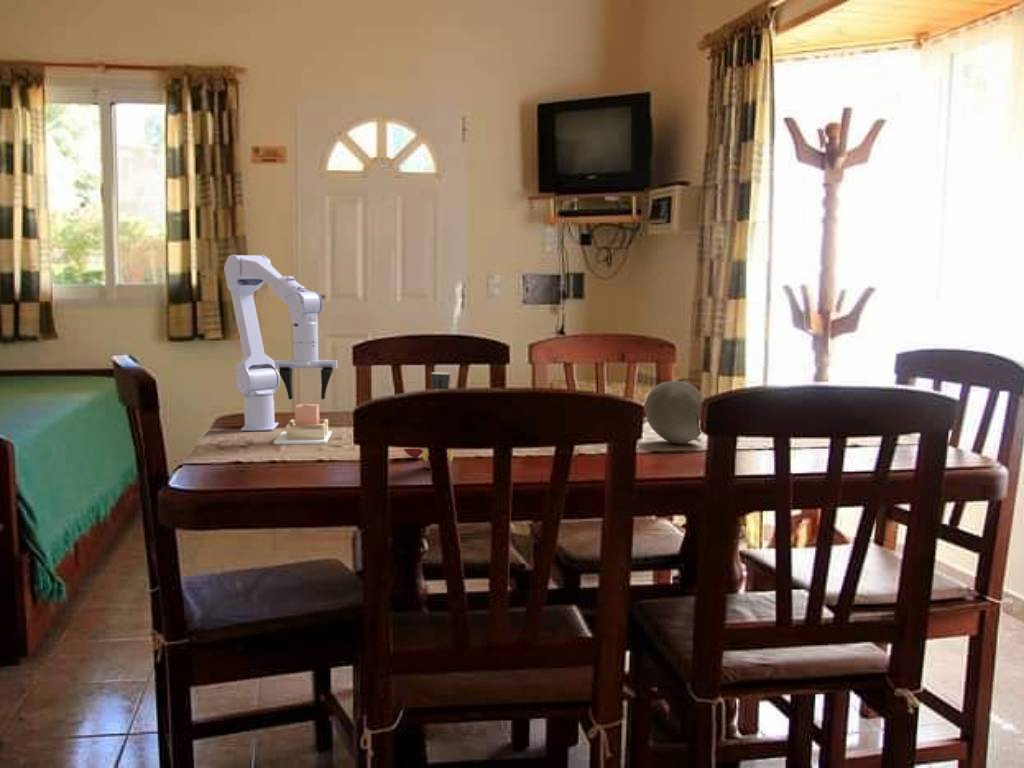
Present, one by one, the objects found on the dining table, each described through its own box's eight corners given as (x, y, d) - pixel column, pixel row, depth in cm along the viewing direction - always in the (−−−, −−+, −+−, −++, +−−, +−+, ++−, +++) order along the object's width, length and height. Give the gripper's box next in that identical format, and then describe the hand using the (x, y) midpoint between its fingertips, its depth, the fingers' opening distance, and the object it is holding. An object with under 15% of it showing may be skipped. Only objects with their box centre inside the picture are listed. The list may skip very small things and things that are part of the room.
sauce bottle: (423, 471, 196) (423, 374, 193) (421, 465, 202) (421, 371, 199) (455, 470, 197) (455, 374, 194) (452, 464, 203) (452, 370, 200)
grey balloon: (699, 438, 234) (701, 377, 232) (710, 449, 220) (712, 385, 218) (641, 438, 234) (642, 377, 232) (648, 449, 220) (649, 384, 218)
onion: (426, 461, 206) (426, 424, 205) (399, 460, 206) (399, 424, 205) (429, 455, 211) (429, 420, 210) (403, 455, 212) (403, 419, 211)
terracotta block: (298, 424, 233) (298, 403, 232) (319, 424, 233) (318, 403, 233) (295, 428, 228) (294, 406, 227) (316, 428, 228) (316, 406, 228)
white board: (282, 433, 237) (282, 431, 237) (331, 433, 238) (331, 430, 238) (273, 444, 224) (273, 441, 223) (325, 443, 225) (325, 441, 224)
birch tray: (291, 433, 235) (291, 419, 235) (328, 432, 236) (328, 419, 235) (286, 439, 226) (286, 425, 226) (324, 439, 227) (324, 425, 227)
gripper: (272, 343, 224) (273, 401, 225) (335, 343, 225) (336, 400, 227) (276, 341, 231) (278, 397, 232) (337, 341, 232) (338, 396, 234)
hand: (307, 398), depth 230 cm, fingers open, 7 cm apart
